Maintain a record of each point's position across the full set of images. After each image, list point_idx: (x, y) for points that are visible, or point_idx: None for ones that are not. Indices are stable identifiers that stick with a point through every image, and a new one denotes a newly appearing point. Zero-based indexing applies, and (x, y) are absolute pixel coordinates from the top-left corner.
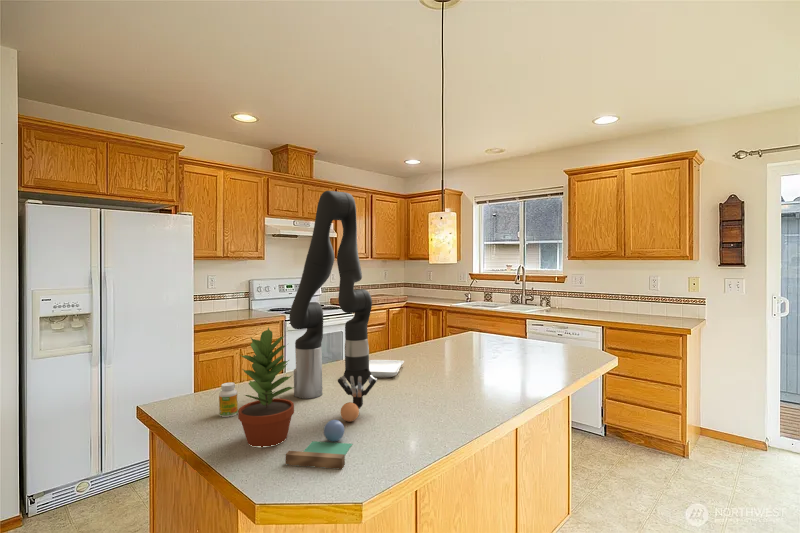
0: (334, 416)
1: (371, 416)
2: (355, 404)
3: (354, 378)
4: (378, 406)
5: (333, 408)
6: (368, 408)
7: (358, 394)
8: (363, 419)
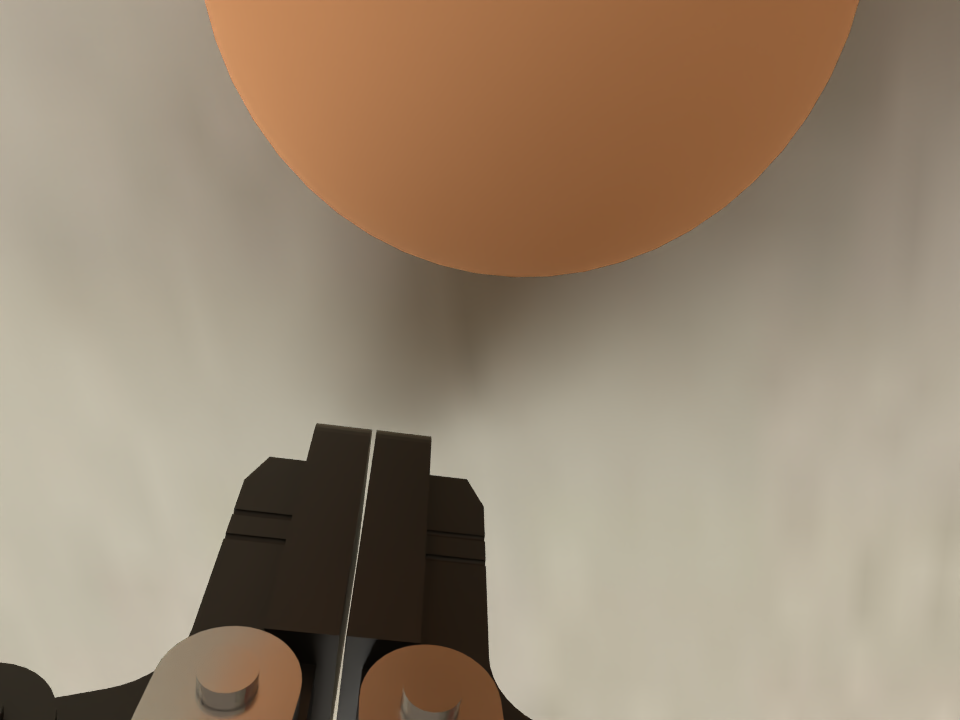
0: (890, 263)
1: (34, 226)
2: (286, 33)
3: None
4: (55, 691)
5: (880, 639)
6: None
7: (261, 711)
8: (178, 41)
